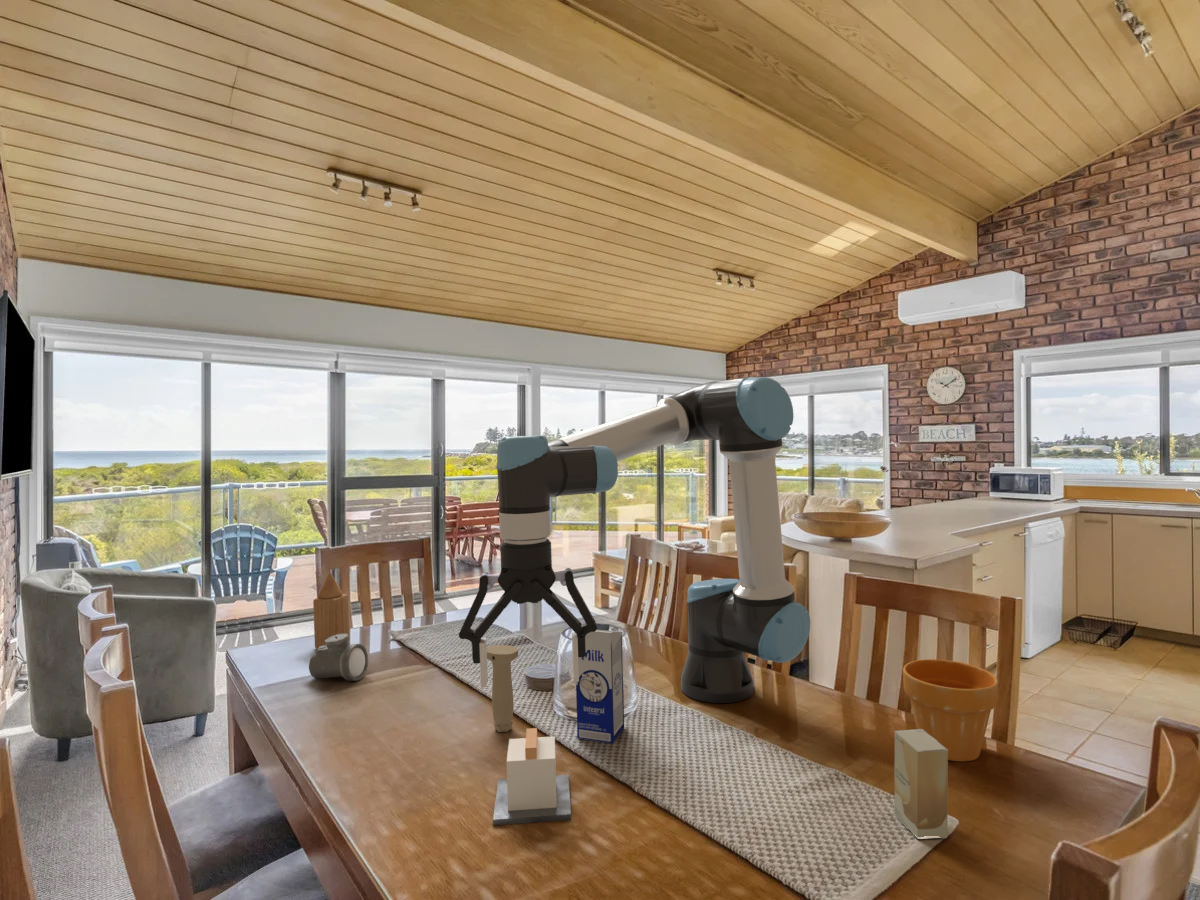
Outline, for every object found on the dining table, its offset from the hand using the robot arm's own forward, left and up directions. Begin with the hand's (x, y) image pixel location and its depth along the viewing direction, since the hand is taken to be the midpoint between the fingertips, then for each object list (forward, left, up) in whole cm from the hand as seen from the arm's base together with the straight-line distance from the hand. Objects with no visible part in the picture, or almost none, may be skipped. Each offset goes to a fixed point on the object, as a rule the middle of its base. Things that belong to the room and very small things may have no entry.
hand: (530, 681), depth 98 cm
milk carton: (-12, -21, -18) cm, 30 cm away
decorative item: (+55, -82, -18) cm, 100 cm away
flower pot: (-70, -7, -18) cm, 73 cm away
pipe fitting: (+46, -57, -18) cm, 76 cm away
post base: (0, 0, -18) cm, 18 cm away
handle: (+6, -25, -18) cm, 32 cm away
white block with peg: (0, 0, -17) cm, 17 cm away
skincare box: (-53, +13, -18) cm, 57 cm away
